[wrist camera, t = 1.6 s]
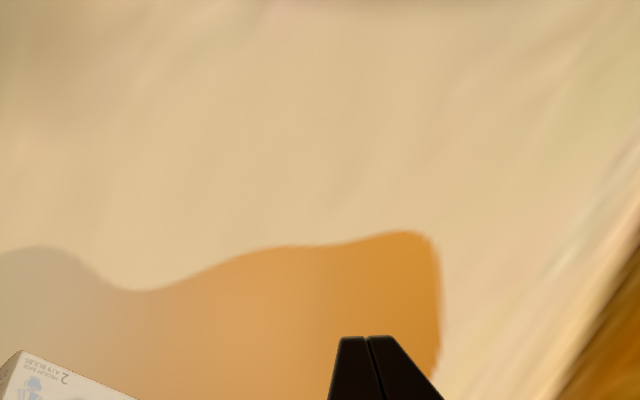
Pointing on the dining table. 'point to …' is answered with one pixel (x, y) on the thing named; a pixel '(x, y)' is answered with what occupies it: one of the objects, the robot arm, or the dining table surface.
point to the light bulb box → (49, 382)
